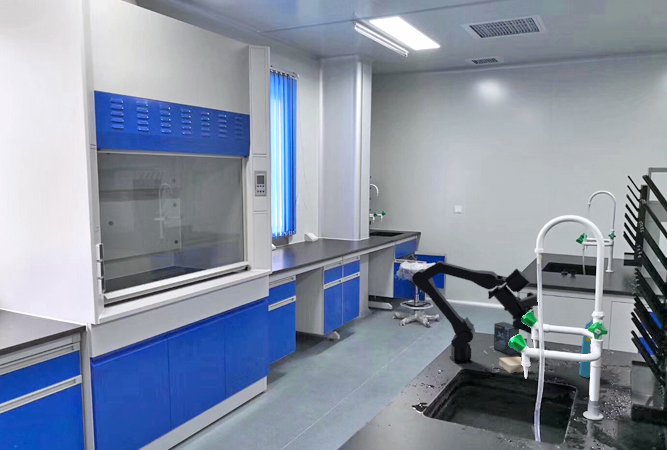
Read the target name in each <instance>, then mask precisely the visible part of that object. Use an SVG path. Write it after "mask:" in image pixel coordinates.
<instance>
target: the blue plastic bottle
mask: <svg viewBox="0 0 667 450" xmlns="http://www.w3.org/2000/svg"><path fill="white" fill-rule="evenodd" d="M592 324H593V325H594V319H593V318H592V319H591V320H590V321H588V322H587V323H586V324H585V326H584V329H588V328H589V327H590V326H591V325H592ZM590 344H591V340H590V338H589V337H587V336H583V335H582V342H581V351H580V352H581V353H580V355H581V354H588V353H590ZM578 374H579V376H581V377H583V378H588V379H590V378H589V374H590V362H580V363H579V373H578Z"/></svg>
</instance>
